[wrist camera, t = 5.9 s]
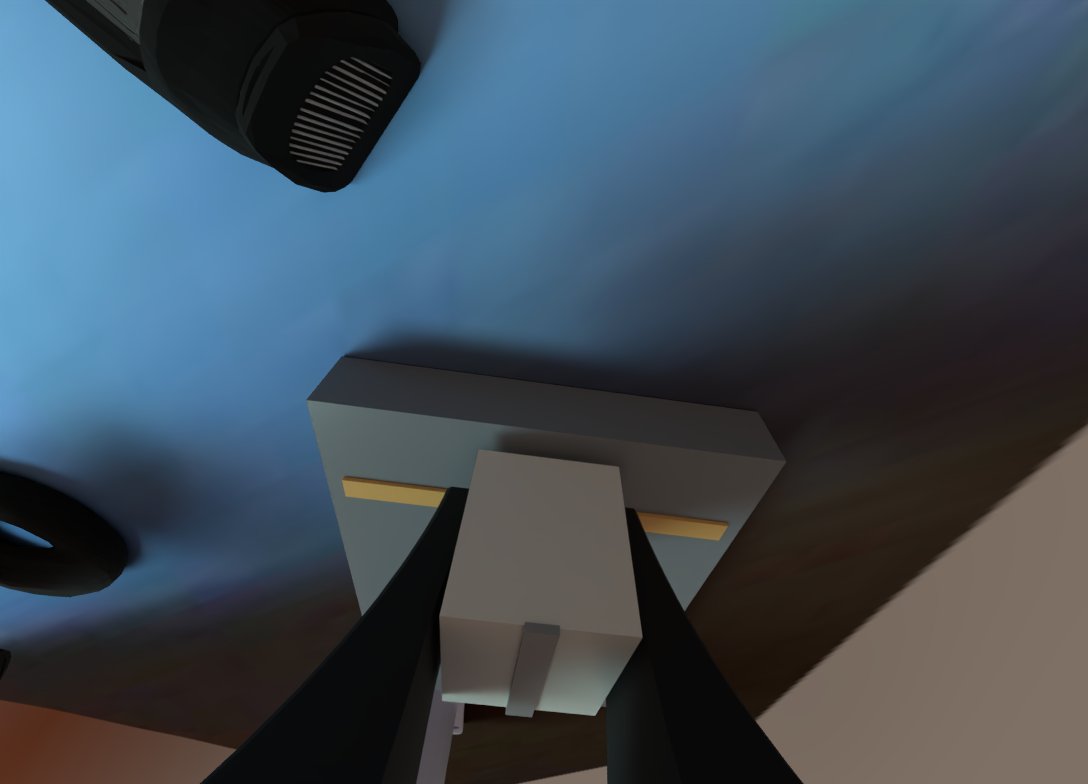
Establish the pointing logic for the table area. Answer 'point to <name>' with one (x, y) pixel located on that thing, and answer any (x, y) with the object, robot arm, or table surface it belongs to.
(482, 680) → the fader
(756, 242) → the table surface
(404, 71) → the electric trimmer
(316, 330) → the table surface
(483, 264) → the table surface
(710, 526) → the console
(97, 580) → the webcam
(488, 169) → the table surface
